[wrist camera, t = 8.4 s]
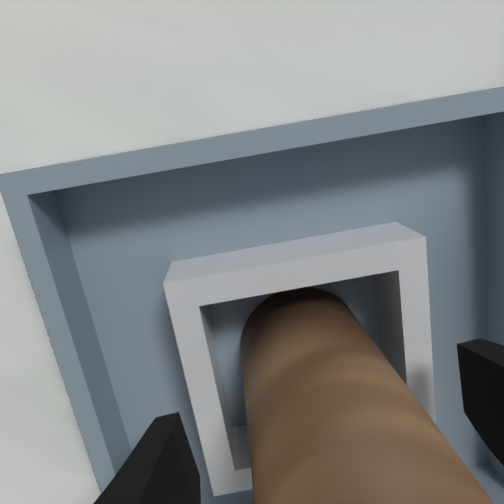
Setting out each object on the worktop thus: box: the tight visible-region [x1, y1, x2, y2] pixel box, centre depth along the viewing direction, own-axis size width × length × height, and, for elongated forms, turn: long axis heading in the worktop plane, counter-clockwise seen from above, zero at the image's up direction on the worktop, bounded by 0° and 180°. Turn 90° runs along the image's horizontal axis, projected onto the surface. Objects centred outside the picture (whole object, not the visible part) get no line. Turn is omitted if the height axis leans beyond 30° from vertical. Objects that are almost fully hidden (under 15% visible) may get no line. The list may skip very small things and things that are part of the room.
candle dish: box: [0, 87, 504, 504], centre depth 14 cm, size 14×14×3 cm
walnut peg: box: [241, 287, 494, 504], centre depth 10 cm, size 4×4×8 cm
